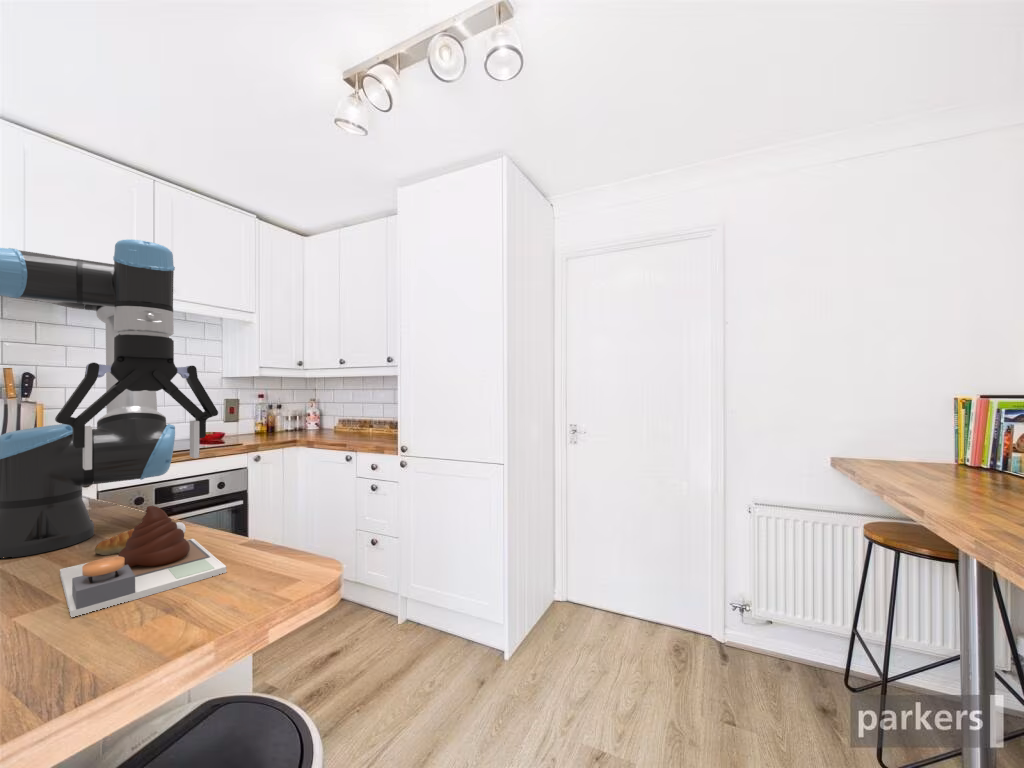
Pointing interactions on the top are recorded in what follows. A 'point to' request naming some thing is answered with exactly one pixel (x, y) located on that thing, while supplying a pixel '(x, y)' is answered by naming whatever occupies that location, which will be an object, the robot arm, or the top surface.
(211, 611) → the top surface
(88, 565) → the button
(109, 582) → the picture board
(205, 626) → the top surface
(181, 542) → the poop emoji
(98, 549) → the pastry
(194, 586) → the top surface
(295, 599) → the top surface
